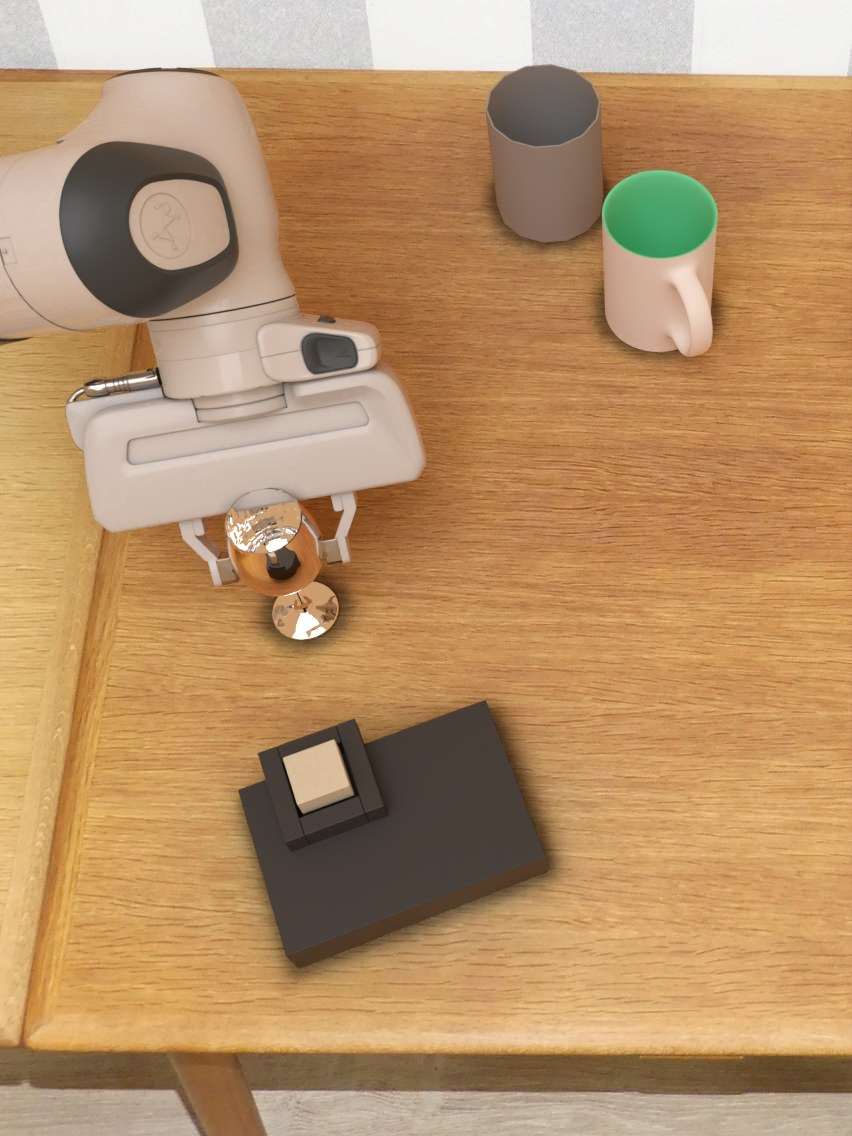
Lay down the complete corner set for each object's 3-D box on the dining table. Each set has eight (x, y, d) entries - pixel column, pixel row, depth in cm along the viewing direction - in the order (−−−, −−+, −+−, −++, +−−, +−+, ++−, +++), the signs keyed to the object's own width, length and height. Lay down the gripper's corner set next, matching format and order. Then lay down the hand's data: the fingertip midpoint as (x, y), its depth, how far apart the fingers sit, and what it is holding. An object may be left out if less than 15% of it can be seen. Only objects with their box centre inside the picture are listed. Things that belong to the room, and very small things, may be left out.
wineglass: (364, 620, 96) (329, 530, 86) (288, 664, 95) (243, 579, 84) (322, 558, 98) (282, 463, 88) (247, 601, 97) (197, 510, 86)
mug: (753, 367, 107) (765, 275, 97) (656, 406, 105) (658, 316, 96) (681, 253, 111) (685, 155, 102) (587, 289, 110) (582, 193, 100)
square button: (355, 795, 86) (349, 785, 85) (303, 814, 86) (297, 805, 84) (339, 749, 87) (334, 738, 86) (288, 767, 87) (282, 757, 85)
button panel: (548, 871, 89) (544, 846, 84) (298, 969, 86) (279, 949, 81) (484, 704, 94) (477, 673, 89) (245, 792, 91) (225, 764, 86)
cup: (564, 258, 111) (558, 164, 102) (477, 214, 113) (463, 118, 104) (622, 188, 114) (621, 91, 105) (537, 147, 116) (529, 48, 107)
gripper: (43, 392, 82) (107, 618, 86) (399, 333, 84) (444, 556, 89) (68, 376, 88) (127, 588, 92) (400, 321, 90) (442, 531, 95)
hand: (285, 572), depth 91 cm, fingers closed on wineglass, 6 cm apart
